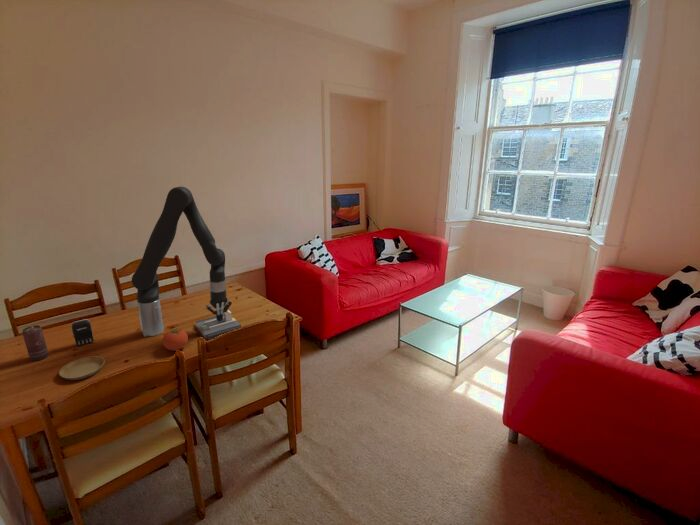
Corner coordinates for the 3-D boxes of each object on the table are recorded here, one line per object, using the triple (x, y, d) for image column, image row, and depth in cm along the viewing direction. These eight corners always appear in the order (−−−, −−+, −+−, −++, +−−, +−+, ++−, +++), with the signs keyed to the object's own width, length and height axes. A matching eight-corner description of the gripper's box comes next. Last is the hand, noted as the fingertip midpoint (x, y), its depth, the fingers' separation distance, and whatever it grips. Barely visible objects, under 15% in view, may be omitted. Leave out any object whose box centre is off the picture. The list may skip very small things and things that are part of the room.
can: (46, 351, 154) (39, 323, 149) (50, 357, 150) (42, 328, 146) (28, 357, 149) (20, 328, 145) (31, 363, 145) (23, 333, 141)
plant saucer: (79, 386, 133) (78, 380, 132) (50, 379, 136) (49, 373, 135) (114, 365, 146) (113, 359, 145) (87, 359, 150) (85, 353, 149)
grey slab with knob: (208, 340, 167) (208, 336, 166) (196, 324, 181) (195, 321, 180) (241, 330, 176) (240, 327, 176) (226, 316, 191) (226, 313, 190)
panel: (205, 338, 168) (204, 332, 167) (195, 326, 179) (194, 321, 178) (241, 328, 179) (240, 322, 178) (230, 317, 190) (229, 312, 189)
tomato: (172, 357, 152) (169, 337, 149) (159, 350, 157) (156, 330, 154) (193, 347, 160) (191, 327, 157) (180, 340, 165) (177, 321, 162)
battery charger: (76, 348, 157) (70, 325, 154) (75, 344, 160) (70, 322, 156) (95, 343, 162) (90, 320, 158) (94, 339, 164) (89, 317, 161)
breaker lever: (226, 322, 179) (225, 313, 177) (223, 319, 182) (222, 310, 180) (232, 321, 181) (231, 311, 179) (229, 318, 184) (228, 309, 182)
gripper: (206, 293, 166) (208, 326, 171) (234, 288, 174) (235, 320, 179) (201, 289, 172) (204, 320, 177) (228, 284, 180) (229, 314, 185)
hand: (219, 320), depth 178 cm, fingers closed
